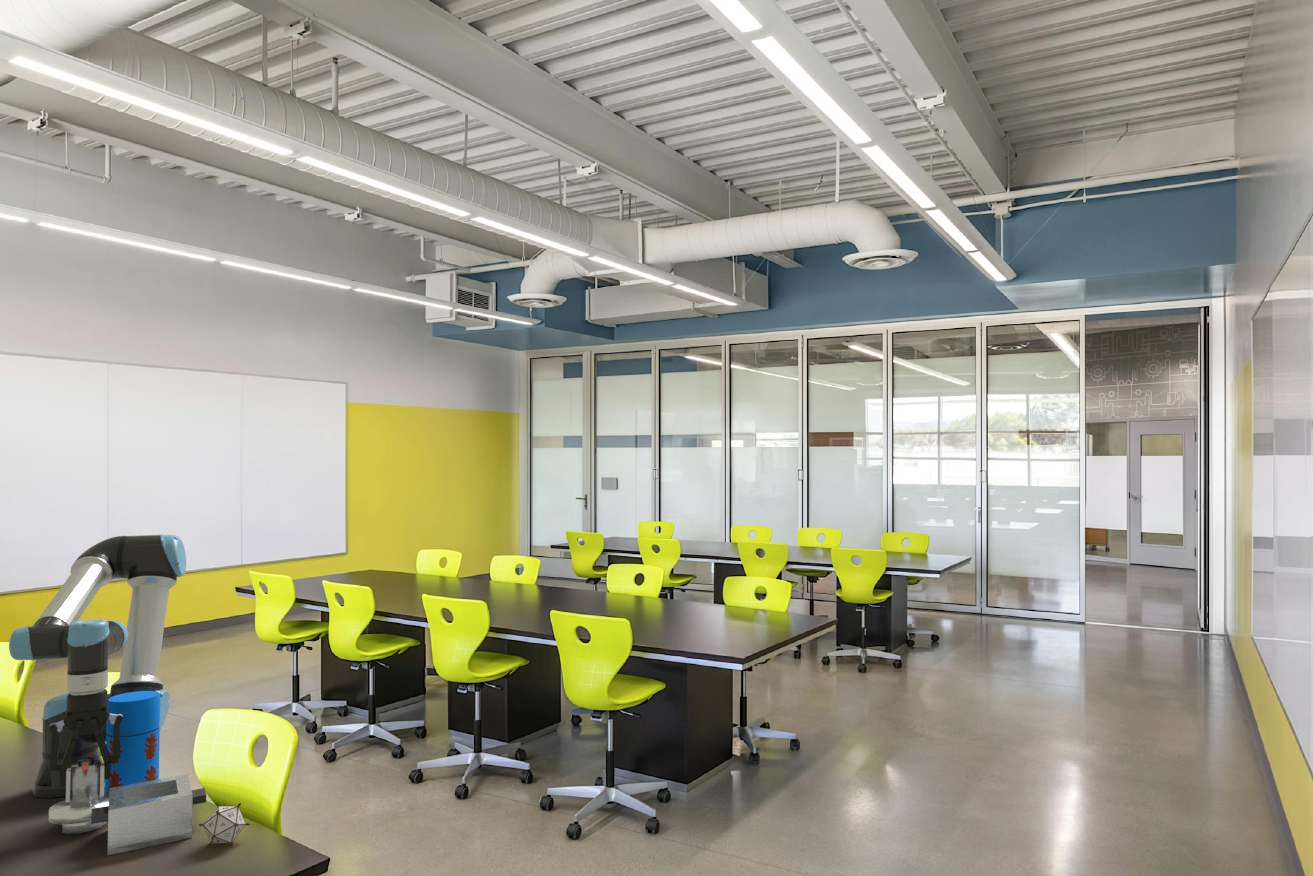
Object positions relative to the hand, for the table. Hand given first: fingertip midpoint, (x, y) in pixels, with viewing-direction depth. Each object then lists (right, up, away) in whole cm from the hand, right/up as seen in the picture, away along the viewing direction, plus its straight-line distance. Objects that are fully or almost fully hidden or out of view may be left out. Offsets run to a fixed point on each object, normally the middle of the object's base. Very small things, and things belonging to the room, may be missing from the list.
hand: (85, 797), depth 184 cm
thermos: (+2, -7, +13) cm, 15 cm away
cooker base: (+17, -6, -5) cm, 19 cm away
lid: (0, -6, 0) cm, 6 cm away
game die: (+36, -6, -10) cm, 38 cm away
